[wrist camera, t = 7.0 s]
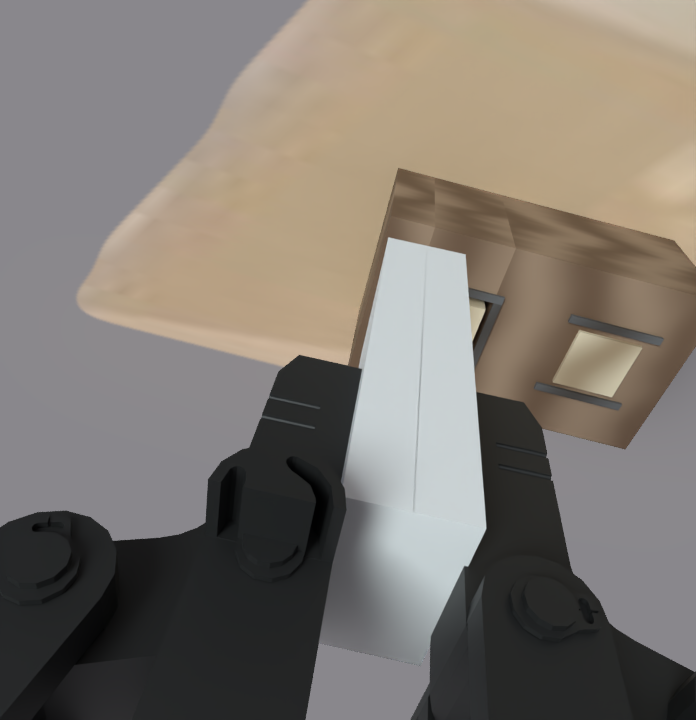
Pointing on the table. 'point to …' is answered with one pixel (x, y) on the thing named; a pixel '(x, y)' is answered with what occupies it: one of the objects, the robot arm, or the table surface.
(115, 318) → the table surface
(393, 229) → the wooden box
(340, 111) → the table surface
